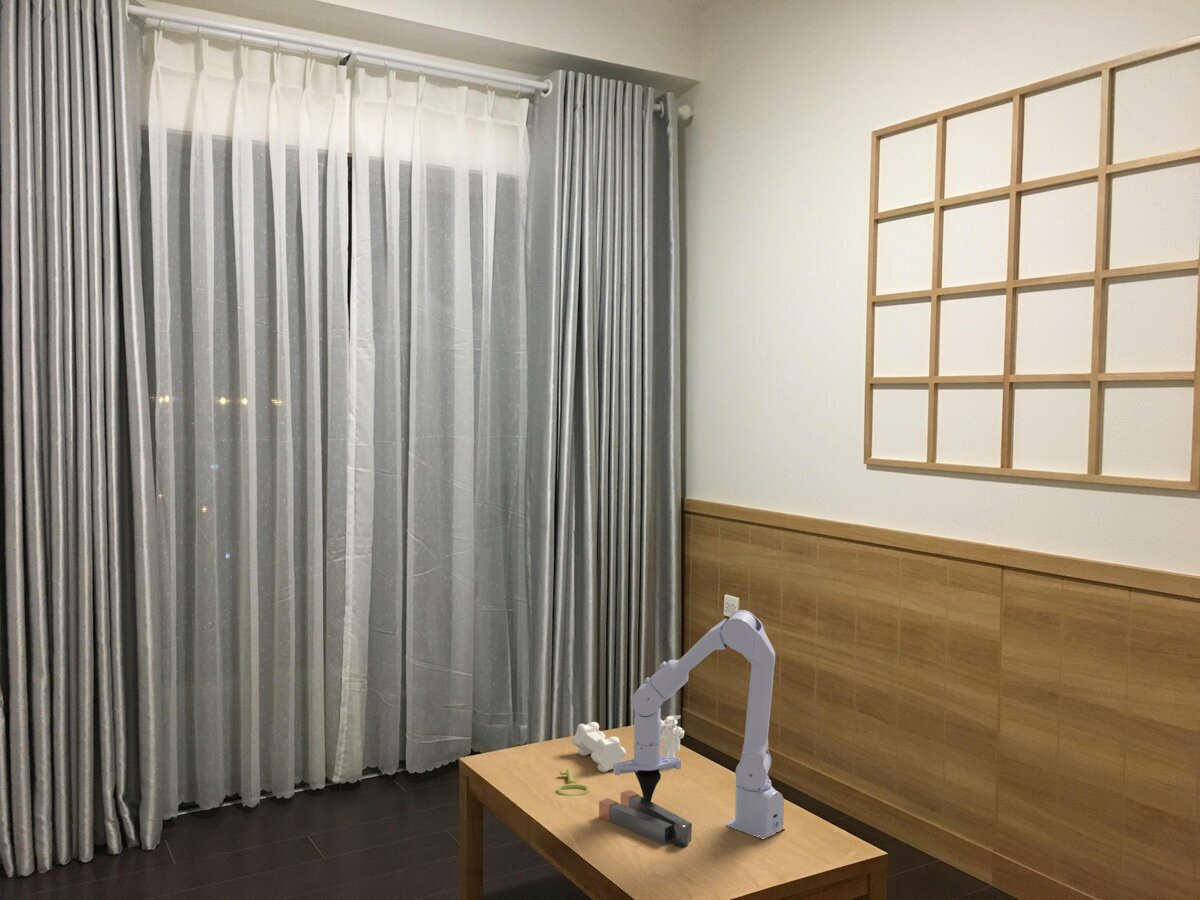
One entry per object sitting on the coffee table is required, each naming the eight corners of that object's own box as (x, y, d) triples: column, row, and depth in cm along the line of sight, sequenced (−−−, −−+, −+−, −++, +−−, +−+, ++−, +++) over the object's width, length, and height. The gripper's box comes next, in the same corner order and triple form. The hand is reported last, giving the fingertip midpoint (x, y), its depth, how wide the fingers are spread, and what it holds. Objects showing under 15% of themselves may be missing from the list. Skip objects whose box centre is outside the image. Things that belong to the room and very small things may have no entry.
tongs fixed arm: (672, 842, 191) (672, 824, 191) (664, 846, 189) (664, 828, 189) (607, 814, 204) (607, 797, 204) (599, 818, 202) (599, 801, 202)
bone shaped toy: (571, 756, 240) (568, 724, 239) (602, 748, 243) (600, 717, 243) (596, 777, 226) (593, 744, 225) (629, 768, 230) (626, 735, 229)
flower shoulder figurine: (687, 765, 233) (688, 716, 232) (675, 768, 230) (675, 719, 230) (662, 754, 240) (663, 706, 239) (650, 757, 237) (651, 709, 237)
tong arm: (696, 843, 191) (696, 824, 190) (680, 848, 188) (680, 829, 188) (629, 806, 208) (630, 789, 208) (614, 810, 205) (614, 793, 205)
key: (569, 776, 226) (569, 767, 226) (592, 795, 215) (593, 786, 215) (541, 781, 223) (541, 772, 223) (563, 801, 212) (563, 791, 212)
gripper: (673, 732, 210) (672, 793, 211) (609, 737, 206) (608, 800, 207) (684, 743, 203) (684, 806, 204) (618, 749, 199) (618, 813, 200)
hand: (646, 804), depth 205 cm, fingers closed
